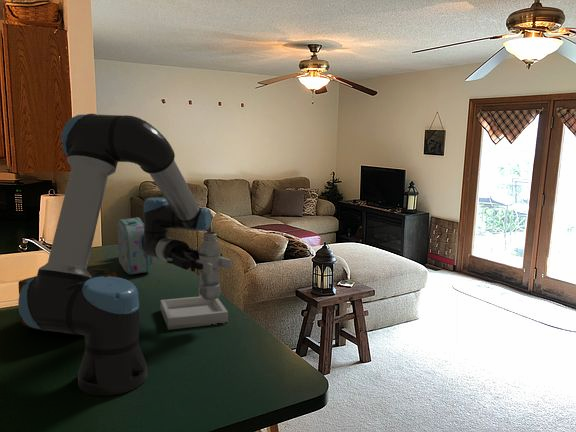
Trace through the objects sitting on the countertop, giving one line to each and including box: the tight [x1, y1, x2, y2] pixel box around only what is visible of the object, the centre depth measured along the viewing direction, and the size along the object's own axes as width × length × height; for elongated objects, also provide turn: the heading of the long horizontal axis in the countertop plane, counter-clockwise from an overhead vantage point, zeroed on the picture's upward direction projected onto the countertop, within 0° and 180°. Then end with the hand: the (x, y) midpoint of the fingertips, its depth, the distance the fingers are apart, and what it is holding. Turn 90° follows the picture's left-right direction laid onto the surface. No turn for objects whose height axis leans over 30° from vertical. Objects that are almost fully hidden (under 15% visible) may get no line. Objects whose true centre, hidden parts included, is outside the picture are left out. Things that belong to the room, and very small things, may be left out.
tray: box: [160, 296, 229, 330], centre depth 148 cm, size 16×18×4 cm
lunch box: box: [117, 216, 153, 275], centre depth 194 cm, size 27×10×21 cm, turn 29°
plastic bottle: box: [197, 231, 222, 300], centre depth 137 cm, size 6×7×20 cm
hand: (221, 266), depth 134 cm, fingers closed on plastic bottle, 6 cm apart
